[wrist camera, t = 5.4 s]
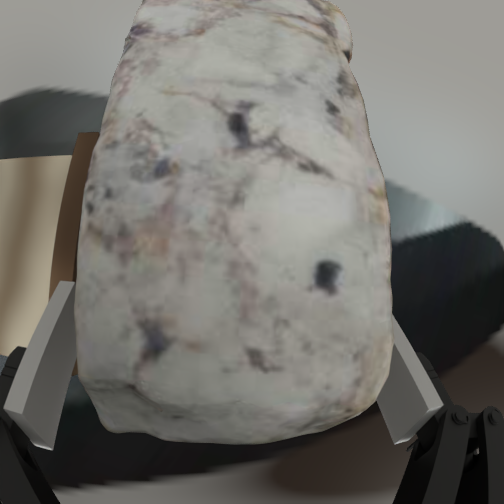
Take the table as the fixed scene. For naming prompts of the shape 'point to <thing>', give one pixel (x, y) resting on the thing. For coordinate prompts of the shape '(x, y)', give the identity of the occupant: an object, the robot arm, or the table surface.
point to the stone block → (234, 229)
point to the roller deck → (38, 235)
